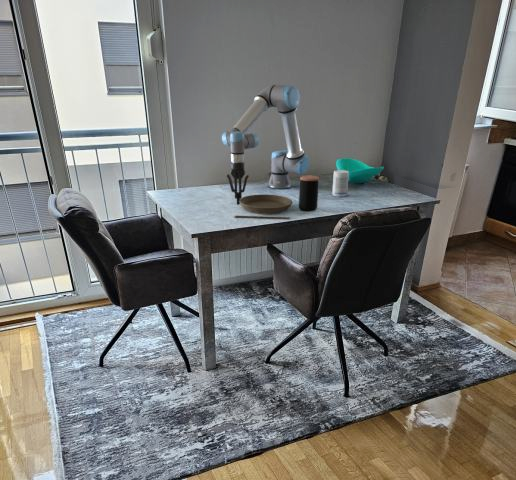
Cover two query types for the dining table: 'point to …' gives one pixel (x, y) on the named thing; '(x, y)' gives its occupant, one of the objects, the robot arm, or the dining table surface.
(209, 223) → the dining table surface
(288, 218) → the walnut ruler
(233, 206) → the dining table surface
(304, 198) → the coffee jar
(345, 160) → the table top decor
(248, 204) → the plant saucer
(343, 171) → the supplement tub
